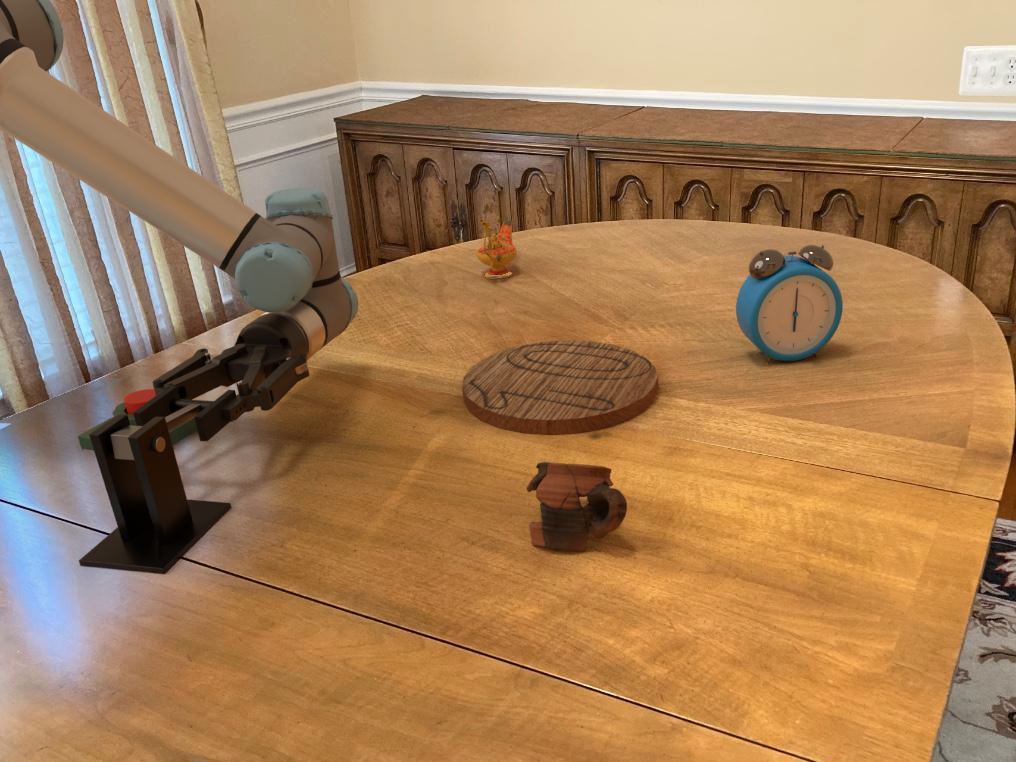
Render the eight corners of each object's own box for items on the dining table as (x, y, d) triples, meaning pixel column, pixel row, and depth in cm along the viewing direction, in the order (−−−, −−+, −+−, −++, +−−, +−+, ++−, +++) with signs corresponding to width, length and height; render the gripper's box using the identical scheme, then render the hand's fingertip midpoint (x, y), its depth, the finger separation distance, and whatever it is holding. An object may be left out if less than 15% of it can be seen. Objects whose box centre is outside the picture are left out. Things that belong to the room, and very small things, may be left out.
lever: (179, 414, 104) (175, 392, 103) (230, 417, 103) (227, 395, 102) (96, 457, 92) (91, 433, 91) (153, 461, 91) (149, 437, 90)
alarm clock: (748, 369, 130) (753, 259, 123) (732, 352, 135) (736, 246, 128) (839, 357, 133) (849, 249, 125) (820, 341, 138) (828, 236, 131)
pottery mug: (502, 543, 96) (509, 459, 96) (568, 543, 103) (574, 465, 103) (594, 556, 88) (601, 464, 88) (658, 555, 95) (664, 470, 95)
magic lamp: (530, 256, 178) (526, 195, 173) (507, 288, 163) (502, 222, 158) (494, 256, 179) (489, 195, 174) (468, 287, 164) (461, 222, 159)
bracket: (155, 505, 103) (124, 396, 97) (233, 512, 102) (205, 401, 96) (81, 571, 93) (41, 452, 87) (166, 579, 91) (131, 459, 85)
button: (120, 414, 115) (116, 400, 114) (145, 400, 119) (141, 387, 118) (146, 418, 114) (142, 405, 113) (171, 404, 117) (167, 391, 116)
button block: (82, 452, 115) (72, 422, 113) (157, 410, 125) (149, 381, 123) (148, 465, 111) (139, 434, 110) (220, 420, 121) (213, 391, 119)
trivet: (623, 446, 112) (623, 431, 111) (428, 420, 119) (426, 406, 118) (679, 363, 133) (679, 349, 132) (510, 345, 140) (509, 333, 139)
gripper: (359, 374, 117) (264, 466, 98) (215, 366, 121) (95, 453, 101) (349, 315, 114) (249, 398, 94) (202, 308, 117) (75, 387, 97)
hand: (170, 426), depth 98 cm, fingers closed on lever, 6 cm apart
